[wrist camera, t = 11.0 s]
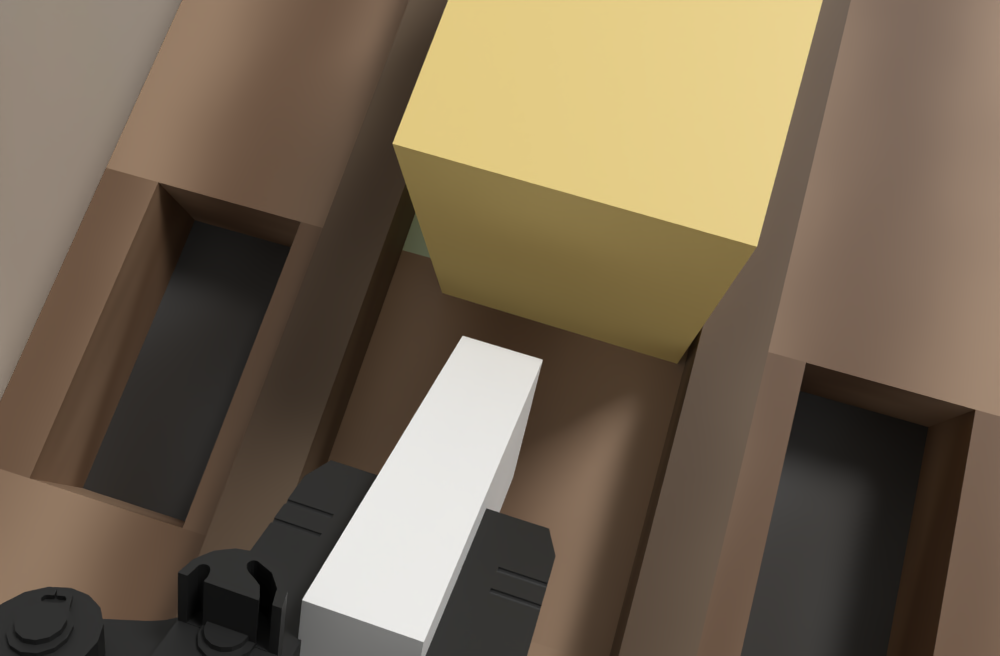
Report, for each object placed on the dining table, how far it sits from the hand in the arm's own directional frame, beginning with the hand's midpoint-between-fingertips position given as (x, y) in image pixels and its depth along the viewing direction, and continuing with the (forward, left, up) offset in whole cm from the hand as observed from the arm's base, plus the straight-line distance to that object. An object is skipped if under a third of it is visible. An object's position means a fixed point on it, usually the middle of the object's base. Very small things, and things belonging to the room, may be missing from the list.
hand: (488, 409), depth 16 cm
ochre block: (-1, -8, -5) cm, 10 cm away
